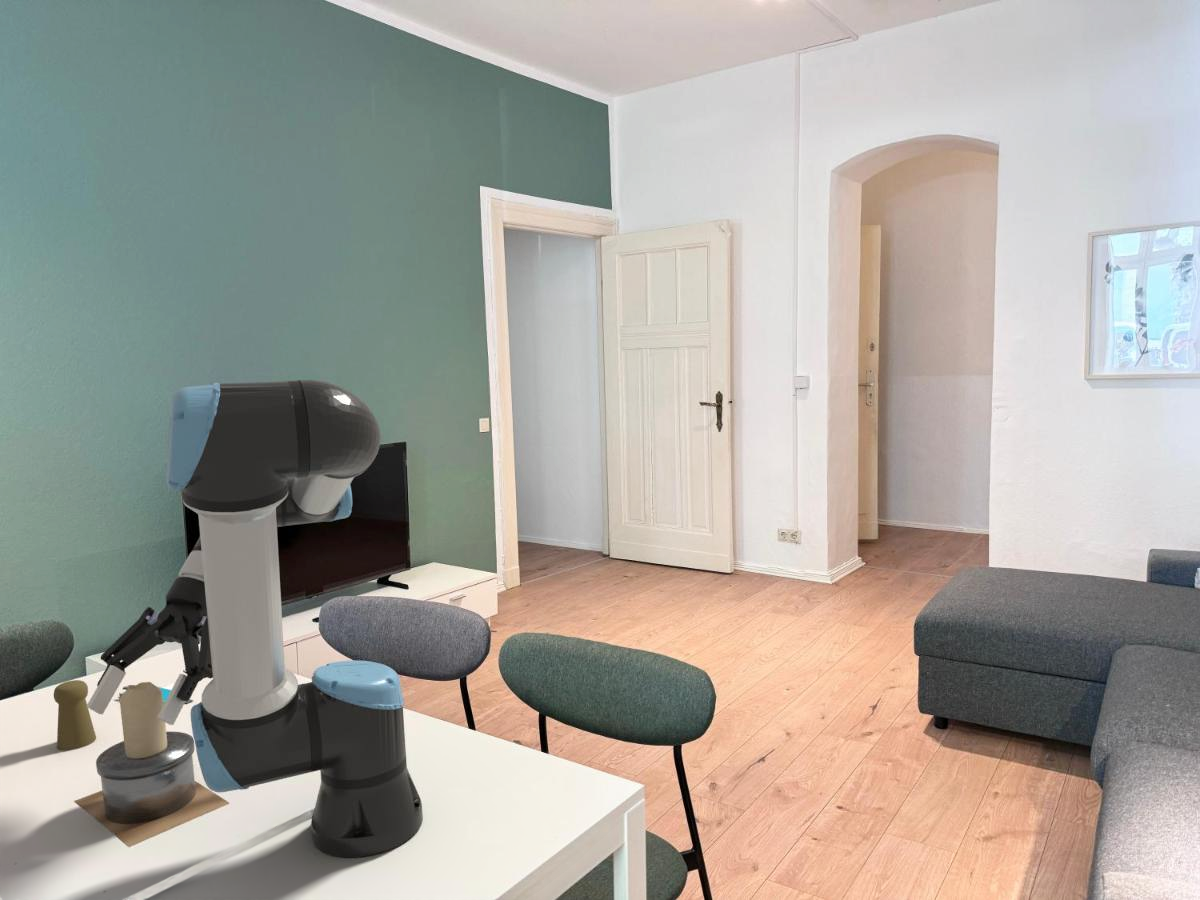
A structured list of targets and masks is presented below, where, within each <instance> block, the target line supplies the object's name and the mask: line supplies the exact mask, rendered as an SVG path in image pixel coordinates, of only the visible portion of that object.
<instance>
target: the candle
mask: <svg viewBox="0 0 1200 900" xmlns="http://www.w3.org/2000/svg"><path fill="white" fill-rule="evenodd" d="M129 685H130V686H129ZM129 685H128V686H129V688H128V689H125V690H126V692H125V691H124V692H125V693H124V694H123V695H122V696H121V698H120V697H119V709H120V715H121V726H122V735H123V741H124V745H125V753H126V756H127V757H128V758H132V759H139V758H146V757H150V756H153V755H156V754H158V753H160V752H162V751H164V750H165V749H166V748H167V734H166V732H167V727H166V722H164V721H163V720H161V719H159V718H158V717H157V716H158V714H159V712H160V711H161V709H162V707H163V705H164V704H163V703H164V702H163V696H162V690H161V689H160V688H158V687H159V686H156V685H155V684H154V683H152V682H151V681H145V682H139V683H137V684H129Z"/></svg>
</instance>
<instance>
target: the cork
mask: <svg viewBox="0 0 1200 900" xmlns="http://www.w3.org/2000/svg"><path fill="white" fill-rule="evenodd" d="M88 693H89V686H88V683H86V682H85V681H84V680H81V679H77V680H76V679H74V680H69V681H65V682H63V683H60V684H59V685H57V686H56V687H55V688H54V690H53V699H54V702H56V703H57V705H58V709H57V711H58V713H57V736H56V738H57V739H56V749H57V750H59V751H72V750H73V751H74V750H77V749H81V748H85V747H87V746H89V745H91V744H93V743H94V742H96V740H97V736H96V732H95V728H94V725H93V721H92V717H91V714H90V709H89V708H87V707H86V706H87V704H88V703H87V700H86V698H87V696H88V695H89V694H88Z"/></svg>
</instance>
